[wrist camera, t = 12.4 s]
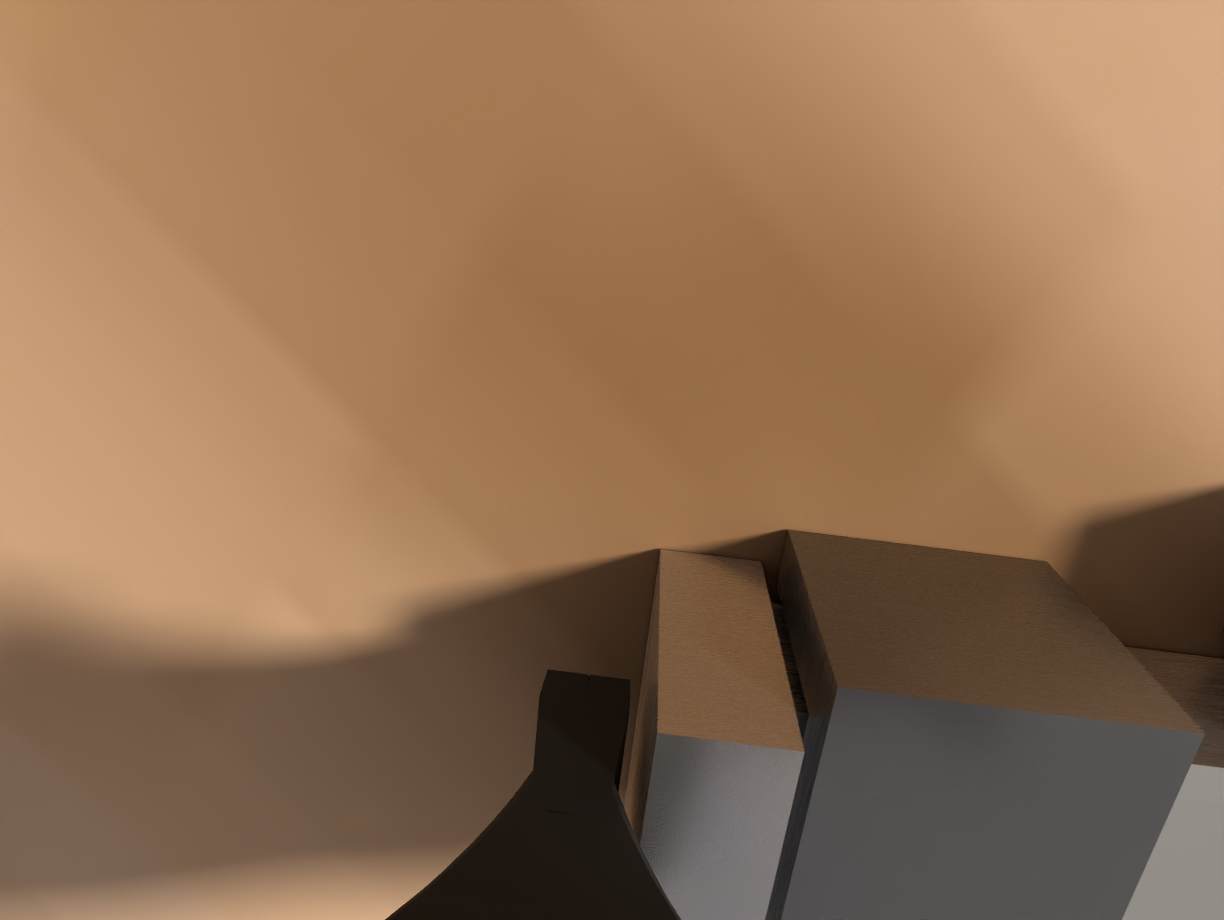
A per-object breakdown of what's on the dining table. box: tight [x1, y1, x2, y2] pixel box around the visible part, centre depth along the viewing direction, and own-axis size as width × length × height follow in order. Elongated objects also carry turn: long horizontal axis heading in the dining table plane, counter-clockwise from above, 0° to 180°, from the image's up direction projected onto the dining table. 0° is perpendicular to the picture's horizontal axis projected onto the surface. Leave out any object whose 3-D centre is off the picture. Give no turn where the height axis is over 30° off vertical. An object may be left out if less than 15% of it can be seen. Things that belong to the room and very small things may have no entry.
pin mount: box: [765, 530, 1205, 920], centre depth 12 cm, size 6×4×4 cm, turn 174°
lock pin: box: [624, 549, 1224, 920], centre depth 12 cm, size 5×12×4 cm, turn 84°
